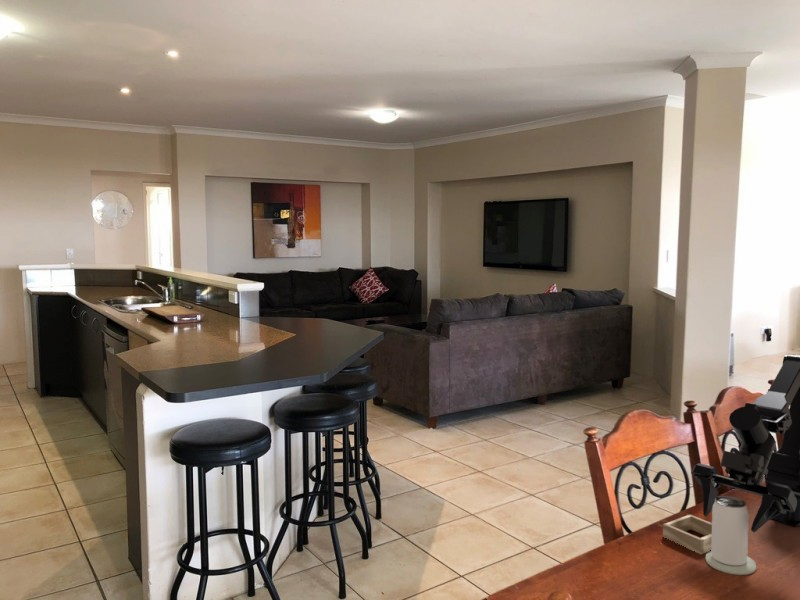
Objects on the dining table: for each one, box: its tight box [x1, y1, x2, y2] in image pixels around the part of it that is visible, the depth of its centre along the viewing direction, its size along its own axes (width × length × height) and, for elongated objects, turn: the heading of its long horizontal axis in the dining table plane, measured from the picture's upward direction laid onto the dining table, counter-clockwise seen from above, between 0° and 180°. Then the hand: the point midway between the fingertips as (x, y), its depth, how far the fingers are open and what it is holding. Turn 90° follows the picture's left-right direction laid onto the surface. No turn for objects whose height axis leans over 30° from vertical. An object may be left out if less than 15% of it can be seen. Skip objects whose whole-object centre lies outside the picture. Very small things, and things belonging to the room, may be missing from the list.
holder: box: [662, 514, 712, 555], centre depth 140 cm, size 9×9×3 cm
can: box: [711, 495, 749, 566], centre depth 130 cm, size 6×6×12 cm
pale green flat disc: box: [705, 551, 757, 576], centre depth 130 cm, size 9×9×1 cm
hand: (728, 523), depth 128 cm, fingers open, 9 cm apart
